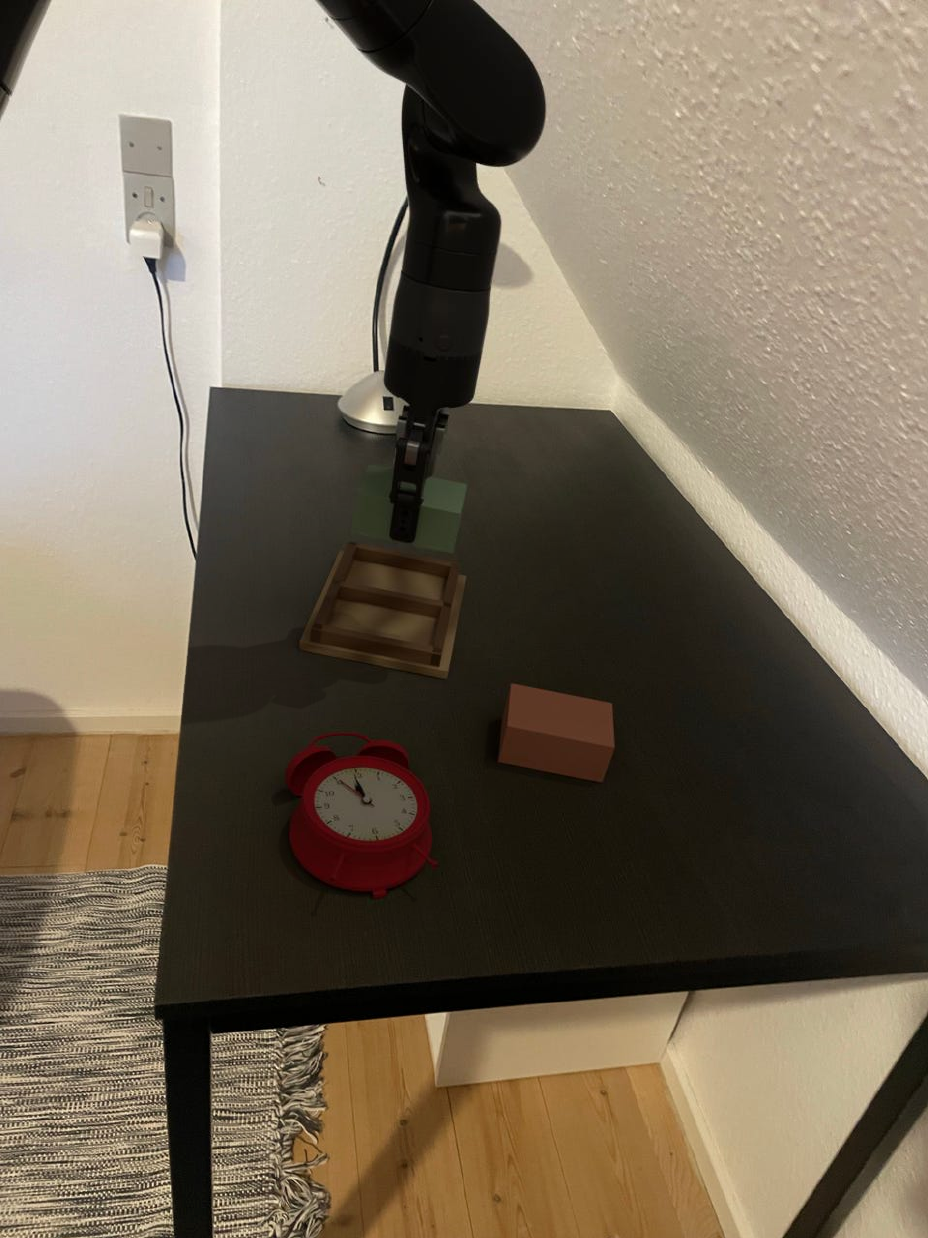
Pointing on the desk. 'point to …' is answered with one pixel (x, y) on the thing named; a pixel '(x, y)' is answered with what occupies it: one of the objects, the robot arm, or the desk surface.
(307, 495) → the desk surface
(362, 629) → the divided wooden tray
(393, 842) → the alarm clock
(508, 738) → the pad terracotta
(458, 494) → the pad sage
